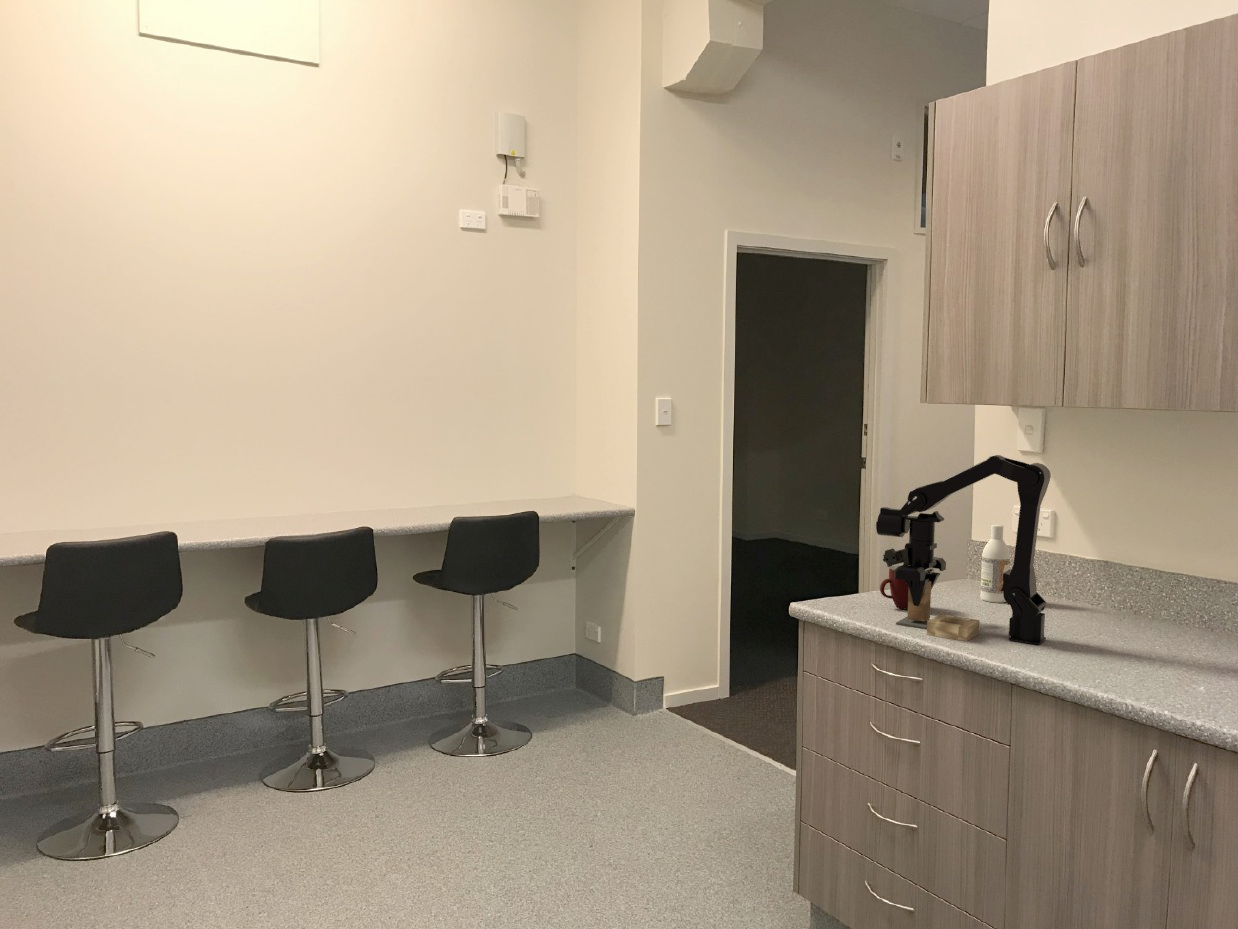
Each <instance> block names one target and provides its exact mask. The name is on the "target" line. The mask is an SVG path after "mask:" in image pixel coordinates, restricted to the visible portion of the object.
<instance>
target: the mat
mask: <svg viewBox="0 0 1238 929" xmlns="http://www.w3.org/2000/svg"><path fill="white" fill-rule="evenodd" d="M930 620H931V619H930V618H929V619H928V620H926V621H918V620H911V619H908V615H907V616H905V617H903V618H902V619H900V620H898V621H896V622H895V625H896V626H897V625H898V626H905V627H910V628H916V629H922V630H927V622H928V621H930Z"/></svg>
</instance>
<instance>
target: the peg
mask: <svg viewBox="0 0 1238 929" xmlns="http://www.w3.org/2000/svg"><path fill="white" fill-rule="evenodd" d="M931 595H932V590H931V581H928V583H927V586H926V588H925V591H924V593H923V596H922V599H921V601H920V604H919V606H914V605H913V601H912V597H911V593H910V590H908V609H907V616H908V619H911V620H918V621H926V620H928V619H930V618H931V603H932V602H931V600H932V596H931Z"/></svg>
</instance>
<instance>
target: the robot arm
mask: <svg viewBox="0 0 1238 929" xmlns="http://www.w3.org/2000/svg"><path fill="white" fill-rule="evenodd" d="M1051 474H1052V473H1051V471H1050V469H1049V468H1048V467H1047V466H1046V465H1045V464H1043V463H1039V462H1033V463H1027V462H1024V461H1019V460H1016V459H1011V458H1007V457H1005V456H1003V455H1001V454H995V455H991V456H988V457H987V458H985V460H983V461H980V462H979V463H977V464H974V465H972V466H970V467H968V468H966V469H964V470H962V471H960V472H957V473H956V474H954V475H951V476H949V477H948V478H947V477H946V478H945V479H944V480H943V479H942V480H940V481H936V482H932V483H929V484H926V485H921V486H919V487H916V488H912V489H911V490H910V491H909V493H908V496H907V501H906V502H905V504H904V505H903V506H902V507H901V508H891V507H888V506H887V507H886V506H883V507H882V506H881V507H880V508H879V514H878V516H877V520H876V522H875V529H876V533H877V535H878V536H887V537H896V538H903V537H905V535H906V534H908V542H907V543H905V545H904V548H902V549H897V550H895V548H890V549H886V550H884V554H883V555H882V556H883V559H882V561H883V562H884V563H886V567H888V568H890V567H892V566H896V565H898V566H899V567H897V568H896V569H895V570H894V578H895V579H902V580H904V581H905V582H906V583H907V584H908V587H909V590H910V593H911V597H912V601H913V605H914V606H919V604H920V601H921V599H922V596H923V593H924V591H925V588H926V586H927V583H928V581H931V591H932V590H933V587H934V585H935V584H936V582H937V580H938V578H939V577H940V576H941V572H943V571H945V570H947V561H946V560H945V559H944V558H943V557H937V556H934V555H935V550H936V549H937V548H938V547H937V546H938V543H935V531H936V529H935V528H936V523H942V522H943V521H945V517H943V516H942V515H941V514H940V513H939V511H938V510H935V511H933V512H932V513H923V512H926V511H929V510H932V509H934V508H935V507H937V506H938V505H940V504H941V503H942V502H944V501H945V500H946V499H947V498H949V497H950V496H952V495H953V494H955V493H957V492H959V491H961V490H963V489H965V488H967V487H969V486H971V485H974V484H976V483H978V482H980V481H983V480H986V478H988V477H991V476H993V475H998V476H1000V477H1002V478H1004V479H1006V480H1009V481H1012V482H1014V483H1016V485H1017V494H1018V498H1019V503H1020V504H1019V505H1020V507H1019V514H1018V524H1017V531H1016V539H1015V549H1014V556H1013V563H1012V564H1013V565H1012V568H1010V569H1009V570H1008V571H1006V572H1005V573H1003V586H1002V589H1001V591H1004V592H1003V596H1004V599H1005V600H1006V602H1005V603H1007V604H1008V605H1010V608H1011V611H1012V615H1011V617H1010V618H1009V624H1008V636H1009V637H1008V640H1009V641H1012V642H1013V641H1014V642H1020V643H1024V644H1025V643H1027V644H1032V645H1040V644H1042V643H1043V642H1044V641H1046V639H1047V637H1046V636H1045V622H1046V621H1045V618H1046V614H1045V613H1043V611H1045V608H1046V606H1047V603H1048V602H1047V601H1046V600H1045V599H1044V598H1043V597H1042V595H1040V594H1039V593H1038V592H1037V591H1038V590H1037V577H1036V573H1035V568H1034V562H1035V555H1036V554H1035V553H1036V544H1037V539H1038V529H1039V528H1038V527H1039V520H1040V513H1041V506H1042V503H1043V500H1044V498H1045V496H1046V493H1047V491H1048V486H1049V484H1050V481H1051V477H1052V476H1051ZM914 513H919V514H918V515H917V516H915V515H914V516H912V514H914ZM902 563H903V564H902ZM899 564H902V565H899ZM935 569H936V570H937V569H939V571H940V572H935Z"/></svg>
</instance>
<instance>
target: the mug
mask: <svg viewBox="0 0 1238 929" xmlns="http://www.w3.org/2000/svg"><path fill="white" fill-rule="evenodd" d="M899 566H900V565H892V566H891V567H888V568H889V569H888V578H885V579H883V581H881V584H879V585H880V586H879V591H880V594H881V595H882V596H883V597H884V598H887V599H890V600H892V601H893V603H894V606H895V607H896V608H897V609H900V610H908V590H909V587H908V584H907V583H906V582H905V581H904V580H902V579H895V578H894V570H895V569H896V568H897V567H899ZM887 584H889V589H890V595H888V594H886V592H885V587H886V585H887Z"/></svg>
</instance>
